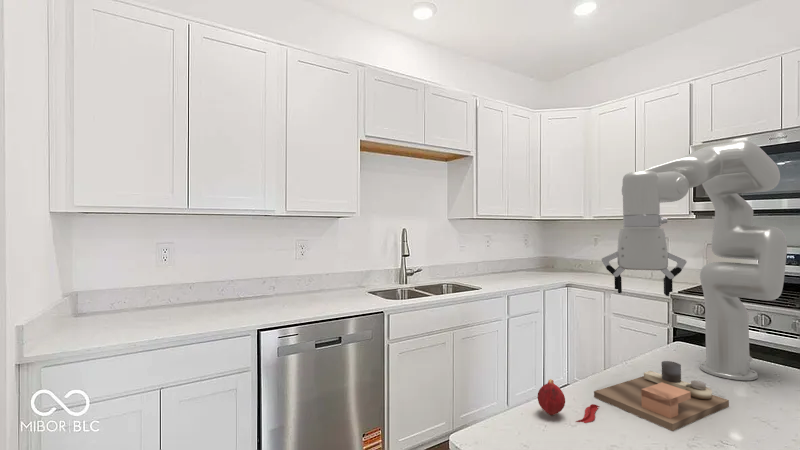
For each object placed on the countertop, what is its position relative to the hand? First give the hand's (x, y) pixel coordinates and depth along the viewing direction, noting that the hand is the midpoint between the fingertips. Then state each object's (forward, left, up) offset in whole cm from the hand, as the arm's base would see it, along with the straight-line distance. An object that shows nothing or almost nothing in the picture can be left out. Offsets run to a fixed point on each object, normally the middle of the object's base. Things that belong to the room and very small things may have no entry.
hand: (642, 293), depth 92 cm
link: (-11, +1, -24) cm, 27 cm away
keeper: (+2, +6, -25) cm, 25 cm away
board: (-3, +2, -26) cm, 26 cm away
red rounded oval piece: (+25, -6, -26) cm, 37 cm away
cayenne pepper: (+17, -2, -27) cm, 32 cm away
